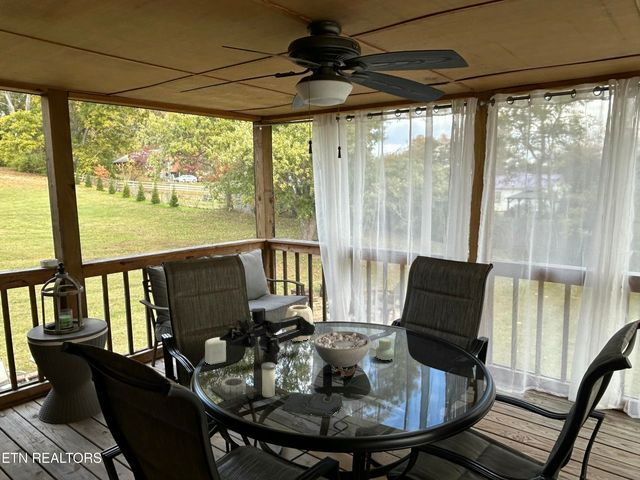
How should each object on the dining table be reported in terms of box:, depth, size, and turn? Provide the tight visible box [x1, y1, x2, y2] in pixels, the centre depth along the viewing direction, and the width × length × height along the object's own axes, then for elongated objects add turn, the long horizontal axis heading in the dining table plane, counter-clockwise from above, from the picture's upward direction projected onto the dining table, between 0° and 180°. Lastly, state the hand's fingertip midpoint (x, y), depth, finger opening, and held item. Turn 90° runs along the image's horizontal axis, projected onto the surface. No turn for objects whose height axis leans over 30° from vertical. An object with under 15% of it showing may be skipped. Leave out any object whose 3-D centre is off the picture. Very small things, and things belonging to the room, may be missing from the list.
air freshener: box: [375, 337, 395, 361], centre depth 223 cm, size 11×8×10 cm
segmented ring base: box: [210, 376, 258, 402], centre depth 185 cm, size 14×14×4 cm
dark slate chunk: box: [282, 391, 344, 418], centre depth 171 cm, size 15×22×5 cm
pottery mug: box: [330, 364, 356, 377], centre depth 203 cm, size 12×10×8 cm
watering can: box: [284, 301, 314, 342], centre depth 254 cm, size 16×27×19 cm, turn 163°
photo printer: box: [204, 336, 227, 365], centre depth 216 cm, size 10×4×12 cm, turn 123°
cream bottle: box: [260, 362, 277, 398], centre depth 181 cm, size 6×6×12 cm
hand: (225, 341), depth 196 cm, fingers open, 9 cm apart
